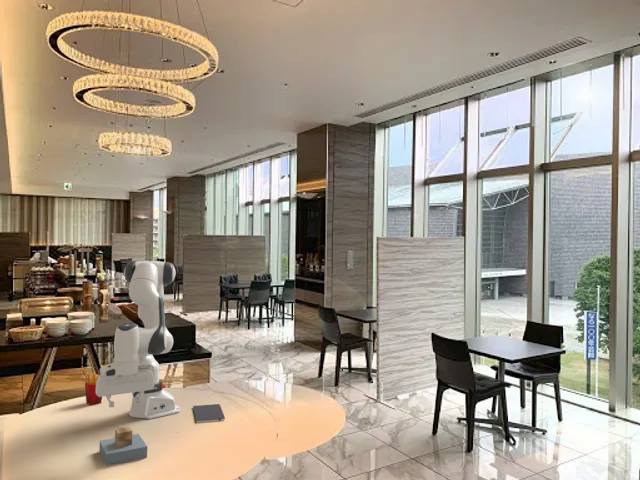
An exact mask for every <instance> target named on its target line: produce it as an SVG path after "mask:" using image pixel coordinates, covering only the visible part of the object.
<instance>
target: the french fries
mask: <svg viewBox="0 0 640 480" xmlns="http://www.w3.org/2000/svg"><path fill="white" fill-rule="evenodd" d="M86 374H87V377H86V379H85V378H83V377H81V380H82V381H83V382H84V389H85V402H86V404H87V405H89V406H97V405H100V404H102V400H103V397H98V396H97V395H96V383H97V379H98V377H99V376H100V374H98V373H97V374H96V372H94V373H92V375H90V372H87V373H86Z"/></svg>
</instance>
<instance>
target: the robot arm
mask: <svg viewBox="0 0 640 480" xmlns="http://www.w3.org/2000/svg"><path fill="white" fill-rule="evenodd" d="M125 265H126V266H125V267H124V271H123V274H124V279H125V281H126V282H127V283H128V284H129V287H128V288H129V289H128V296H129V299H130V300H131V301H132V302H133V303H134V305H136V306H137V317H138V318H139V319H140V320H141V321H142V323H143V326H144V327H139V325H138V324H137V323H134V322H124V323H120V324H119V325H117V327H115V328H116V330H115V334H114V335H115V336H114V342H113V351H114V357H113V362H111V363H109V364H107V365H104V366H102V367H100V368H99V377H98V379H97V383H96V395H97V396H98V397H102V398H103V397H105V399H106V400H107V401H108V407H109V408H114V407H115V401H114V400H111V399H112V396H118V395H125V394H129V393H131V394H132V401H131V405H130V409H129V413H128V416H130V417H131V418H136V419H147V420H152V419H156V418H161V417H166V416H170V415H174V414H179V413H180V412H181V407H180V406H179V405H178V404H176V399H175V397H174V395H172V394H171V393H170V392H168V391H167V390H165V388H166V387H167V383H164V382H163V381H161V380H160V364H159V362H158V361H157V360H156V359H155V357H154V355H155V356H159V355H162V354H167V353H169V352H170V351H171V350H172V348H173V345H174V337H173V335H172V334H171V332H169V330H168V328H167V327H166V314H165V303H164V302H165V301H164V300H165V299H164V297H165V296H164V295H165V292H164V291H165V290H164V288H166V287H167V286H168V285H171V284H172V283H173V282H174V280H175V278H176V268H175V265H174V264H173V263H172V262H169V261H165V262H164V261H160V260H140V261H139V260H138V261H137V260H131V261H129V262H127V263H126V264H125Z"/></svg>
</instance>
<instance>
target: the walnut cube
mask: <svg viewBox="0 0 640 480" xmlns="http://www.w3.org/2000/svg"><path fill="white" fill-rule="evenodd" d="M114 433H115V434H114V438H115V444H116V445H117V447H121V446H126V445H132V435H133V430H132V428H131V427H130V426H125V427H119V428H115V431H114Z"/></svg>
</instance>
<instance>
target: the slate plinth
mask: <svg viewBox="0 0 640 480" xmlns="http://www.w3.org/2000/svg"><path fill="white" fill-rule="evenodd" d="M98 450H99V451H98V452H99V455H100V456H101V458H102V460H103V463H104V465H105V466H106V467H108V466H112V465H118V464H121V463H127V462H131V461H136V460H141V459H146V458H148V445H147V443H146V442H145V441H144V440H143V438H142V436H141V435H140V433H136V434H132V445H126V446H121V447H117V445H116V444H115V437H111V438H108V439H107V438H106V439H101V440H99V449H98Z"/></svg>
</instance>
